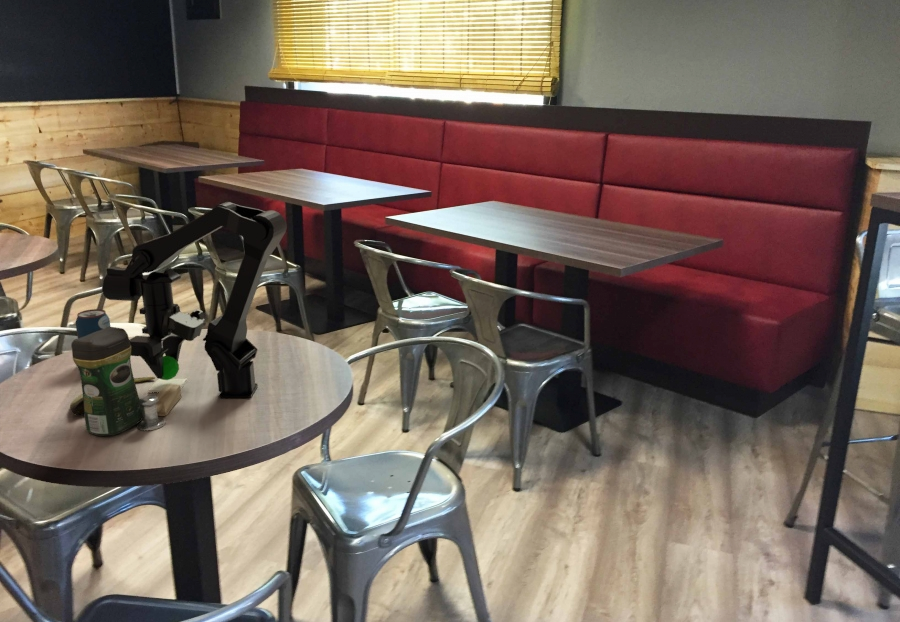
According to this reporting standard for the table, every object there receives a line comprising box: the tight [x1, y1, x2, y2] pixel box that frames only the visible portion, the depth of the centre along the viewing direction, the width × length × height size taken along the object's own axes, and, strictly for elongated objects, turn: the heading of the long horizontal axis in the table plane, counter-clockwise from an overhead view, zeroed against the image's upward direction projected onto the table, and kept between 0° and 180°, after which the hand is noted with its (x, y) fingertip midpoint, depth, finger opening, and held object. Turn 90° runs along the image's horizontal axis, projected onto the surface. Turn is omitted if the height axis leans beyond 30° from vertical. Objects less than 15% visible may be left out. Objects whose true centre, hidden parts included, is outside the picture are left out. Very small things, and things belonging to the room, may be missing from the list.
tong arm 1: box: [155, 385, 173, 414], centre depth 145 cm, size 1×11×3 cm, turn 0°
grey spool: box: [136, 395, 166, 432], centre depth 138 cm, size 5×5×5 cm
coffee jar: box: [71, 326, 143, 437], centre depth 135 cm, size 10×8×19 cm
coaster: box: [147, 378, 188, 394], centre depth 155 cm, size 6×6×1 cm
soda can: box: [75, 308, 111, 339], centre depth 167 cm, size 7×7×12 cm
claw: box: [69, 376, 156, 417], centre depth 150 cm, size 20×10×3 cm, turn 175°
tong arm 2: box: [156, 385, 182, 417], centre depth 145 cm, size 2×11×3 cm, turn 1°
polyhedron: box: [162, 355, 180, 380], centre depth 154 cm, size 5×5×5 cm
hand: (167, 373), depth 155 cm, fingers closed on polyhedron, 5 cm apart
